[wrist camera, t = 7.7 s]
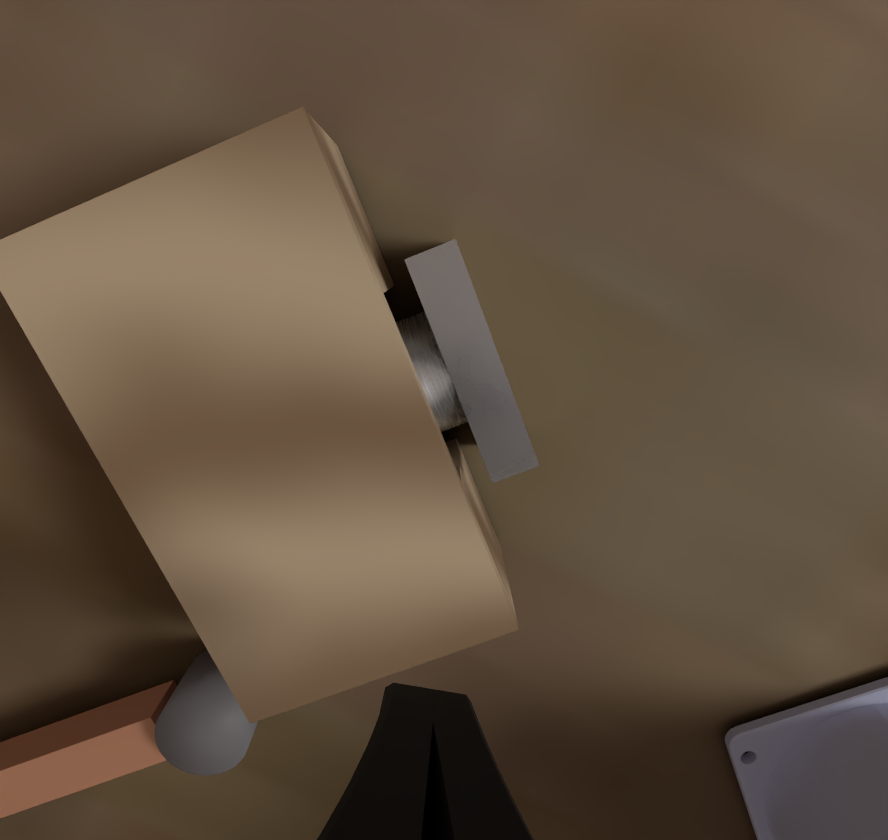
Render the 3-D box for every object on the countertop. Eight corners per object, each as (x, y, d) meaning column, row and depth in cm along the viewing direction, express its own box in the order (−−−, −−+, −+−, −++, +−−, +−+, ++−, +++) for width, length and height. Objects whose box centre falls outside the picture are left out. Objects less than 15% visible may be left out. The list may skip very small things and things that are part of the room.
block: (500, 547, 18) (519, 630, 14) (289, 623, 19) (250, 723, 15) (337, 146, 15) (302, 106, 11) (93, 251, 16) (-23, 250, 12)
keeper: (247, 634, 19) (222, 685, 16) (284, 700, 19) (264, 758, 17) (-56, 744, 20) (-118, 806, 17) (-11, 803, 20) (-66, 871, 18)
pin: (452, 242, 16) (455, 238, 13) (522, 431, 17) (539, 465, 15) (175, 354, 17) (120, 374, 14) (263, 528, 18) (230, 579, 15)
